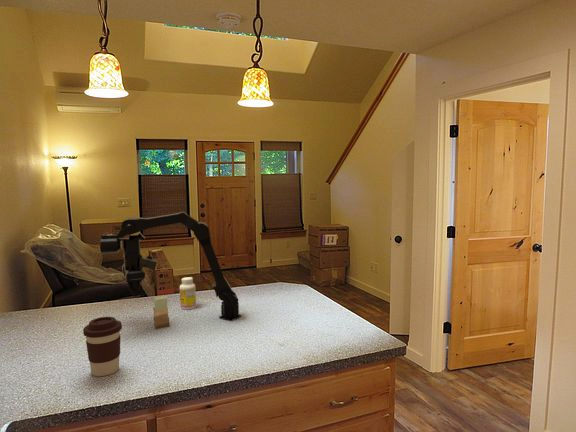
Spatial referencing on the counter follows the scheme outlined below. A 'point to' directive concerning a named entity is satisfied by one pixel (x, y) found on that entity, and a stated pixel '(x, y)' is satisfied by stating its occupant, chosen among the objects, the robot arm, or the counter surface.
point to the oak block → (160, 313)
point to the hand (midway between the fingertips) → (134, 293)
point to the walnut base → (161, 323)
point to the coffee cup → (103, 345)
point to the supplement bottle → (187, 294)
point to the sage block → (160, 302)
